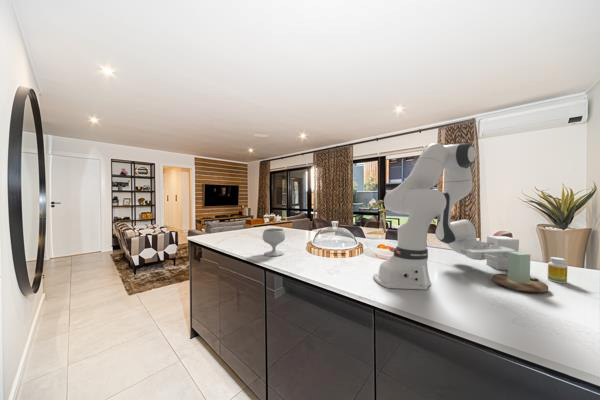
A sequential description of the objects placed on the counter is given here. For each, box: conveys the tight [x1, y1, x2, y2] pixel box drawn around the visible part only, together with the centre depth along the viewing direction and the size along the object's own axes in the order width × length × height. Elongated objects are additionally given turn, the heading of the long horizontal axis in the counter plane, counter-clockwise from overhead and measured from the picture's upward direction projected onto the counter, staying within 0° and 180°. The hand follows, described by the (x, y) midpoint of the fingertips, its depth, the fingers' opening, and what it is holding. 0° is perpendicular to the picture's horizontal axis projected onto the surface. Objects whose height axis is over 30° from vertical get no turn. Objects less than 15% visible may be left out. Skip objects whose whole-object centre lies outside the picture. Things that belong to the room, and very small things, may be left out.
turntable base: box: [498, 284, 541, 294], centre depth 89 cm, size 13×13×1 cm
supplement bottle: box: [547, 256, 568, 284], centre depth 94 cm, size 5×5×10 cm
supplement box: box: [486, 235, 520, 271], centre depth 111 cm, size 9×9×15 cm
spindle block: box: [507, 251, 531, 283], centre depth 89 cm, size 4×4×11 cm
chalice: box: [262, 227, 286, 257], centre depth 138 cm, size 14×14×15 cm
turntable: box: [491, 273, 549, 293], centre depth 89 cm, size 16×16×2 cm
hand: (507, 258), depth 94 cm, fingers open, 8 cm apart
